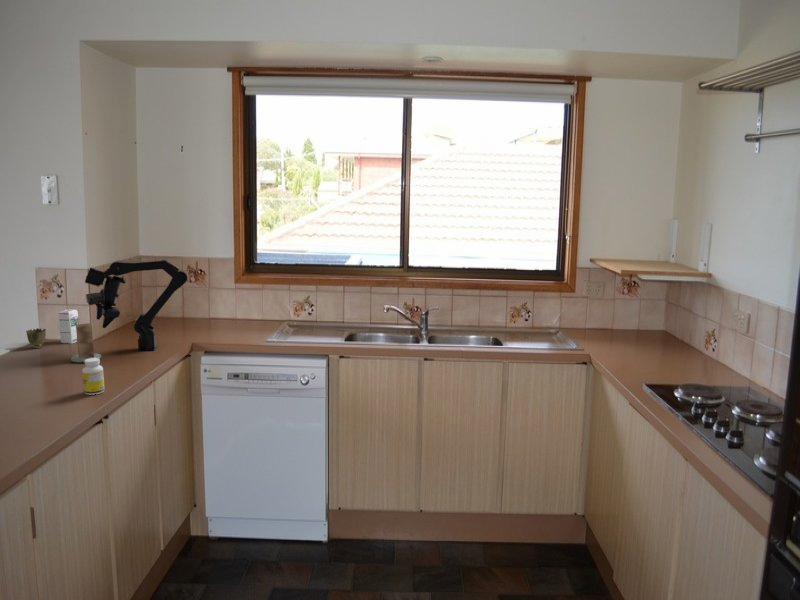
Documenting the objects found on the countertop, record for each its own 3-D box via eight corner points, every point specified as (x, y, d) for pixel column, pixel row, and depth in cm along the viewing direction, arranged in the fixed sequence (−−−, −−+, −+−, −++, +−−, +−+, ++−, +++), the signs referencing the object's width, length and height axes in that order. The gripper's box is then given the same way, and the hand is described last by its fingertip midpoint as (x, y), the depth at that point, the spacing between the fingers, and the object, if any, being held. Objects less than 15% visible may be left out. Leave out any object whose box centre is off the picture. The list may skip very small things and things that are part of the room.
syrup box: (72, 343, 296) (69, 311, 293) (60, 343, 297) (57, 311, 294) (80, 340, 301) (78, 309, 299) (69, 340, 302) (66, 308, 300)
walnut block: (91, 354, 273) (89, 323, 270) (94, 356, 269) (91, 325, 266) (78, 356, 270) (75, 324, 268) (80, 358, 266) (78, 326, 264)
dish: (105, 356, 275) (104, 352, 275) (95, 363, 265) (95, 359, 264) (77, 356, 274) (77, 353, 274) (67, 363, 264) (66, 360, 263)
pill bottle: (88, 389, 231) (85, 357, 229) (107, 389, 232) (105, 357, 230) (81, 395, 225) (78, 362, 223) (100, 395, 225) (98, 362, 223)
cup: (51, 346, 290) (49, 328, 289) (37, 350, 284) (35, 332, 282) (38, 345, 293) (36, 327, 291) (23, 349, 286) (22, 330, 285)
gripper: (85, 278, 280) (75, 312, 283) (97, 295, 267) (86, 330, 270) (112, 283, 288) (102, 316, 290) (124, 299, 274) (114, 333, 277)
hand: (100, 323), depth 282 cm, fingers open, 9 cm apart
